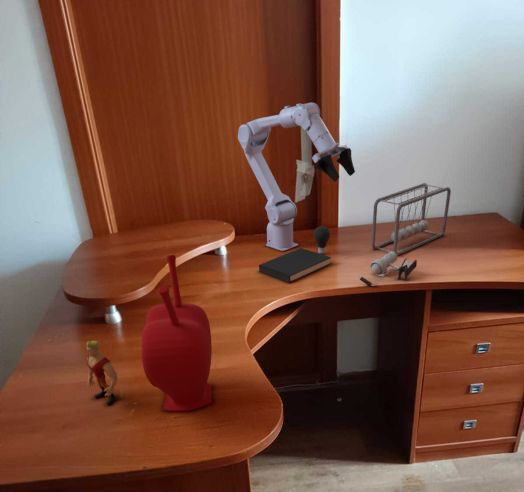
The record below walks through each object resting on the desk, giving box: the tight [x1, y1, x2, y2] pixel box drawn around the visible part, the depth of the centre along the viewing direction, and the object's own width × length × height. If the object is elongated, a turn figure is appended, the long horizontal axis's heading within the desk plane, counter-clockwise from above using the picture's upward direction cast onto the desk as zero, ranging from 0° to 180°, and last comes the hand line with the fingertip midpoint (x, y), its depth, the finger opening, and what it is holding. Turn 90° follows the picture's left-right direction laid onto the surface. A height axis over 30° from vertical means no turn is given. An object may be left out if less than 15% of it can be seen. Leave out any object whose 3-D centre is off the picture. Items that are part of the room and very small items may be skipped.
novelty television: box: [140, 254, 213, 413], centre depth 104 cm, size 21×13×30 cm, turn 4°
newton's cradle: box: [371, 182, 451, 257], centre depth 179 cm, size 30×10×18 cm, turn 130°
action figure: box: [86, 340, 118, 406], centre depth 109 cm, size 10×4×15 cm, turn 51°
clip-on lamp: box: [358, 250, 418, 287], centre depth 157 cm, size 12×6×18 cm
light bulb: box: [313, 225, 331, 255], centre depth 176 cm, size 6×6×10 cm
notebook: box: [258, 247, 332, 284], centre depth 168 cm, size 14×20×2 cm
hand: (344, 176), depth 155 cm, fingers open, 7 cm apart
